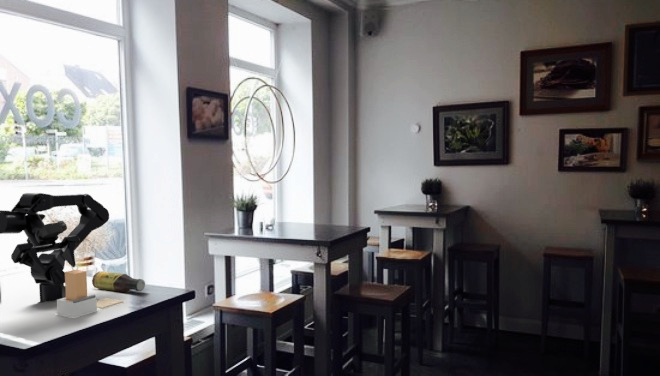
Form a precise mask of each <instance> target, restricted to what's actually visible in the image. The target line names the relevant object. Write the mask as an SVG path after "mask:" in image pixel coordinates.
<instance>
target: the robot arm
mask: <svg viewBox="0 0 660 376" xmlns="http://www.w3.org/2000/svg"><path fill="white" fill-rule="evenodd" d="M70 206H71V207H72V206H73V207H74V206H76V207H77V211H78V213H79V214H80V218H79V223H78V224H77V225H76V226H75V228H74V229H73V230H72V231H70V233H68V235H67V236H64V237H63V238H62V240H61V241H59V242H56V241H57V240H58V239H60V238H59V235H60V234H63V233H64V232H66V231H67V230H68V226H67V224H66V222H65V221H64V220H58V221H57V222H53V223H51V222H50V223H46V224H45V223H44V221H43V220H44V219H45V218H46V215H45V214H43V213H39V212H45V211H47V210H48V211H49V210H51V209H53V208H57V207H58V208H59V207H70ZM109 219H110V213H109V211H108V209H107V208H106V207H104V206H103V204H101V203H100V202H99V201H97V200H96V199H94V198H93V197H92V196H91V195H90V194H88V193H76V194H59V195H52V194H49V193H42V192H25V193H22V195H21V196H20V198H19V200H18V201H17V203H16V204H15V205H14V207H13V208H12V209H11V210H0V234H4V235H5V234H21V233H22V232H24V234H25V236H26V237H27V239H26V242H24V243H19V244H17V245H16V246H15V248H14V249H13V252H12V253H11V257H10V258H11V260H12V262H13V263H14V264H20V265H25V266H27V267H28V268H30V275H31V278H32V279H34V282H35V284H37V285H38V286H39V288H38V289H39V301H38V302H37V304H40V303H44V302H55V301H57V300H58V299H62V298H65V297H66V289H65V272H66V271H64V269H65V264H66V262H67V263H68V264H69V266H71V267H72V268H75V267H76V258H75V251H76V249H78V248H79V246H80V245H81V244H82V243H83V242H84V240H85V239H86V238H88V236H89V235H90V234H91V233H92V232H93V231H94V230H97V229H99V228H101V227H103V226H104V225H105V224H106V223H107V222H108V221H109ZM47 252H50V253H47ZM39 253H41V254H39ZM38 254H39V256H38Z"/></svg>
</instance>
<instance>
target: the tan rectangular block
mask: <svg viewBox="0 0 660 376" xmlns="http://www.w3.org/2000/svg"><path fill="white" fill-rule="evenodd" d="M64 272H65V283H64V286H65V289H66V300H70V301H73V300H76V299H80V298H84V297H87V296H88V278H87V271H86V270H81V269H72V270H68V271H64Z"/></svg>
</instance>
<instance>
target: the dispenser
mask: <svg viewBox="0 0 660 376" xmlns="http://www.w3.org/2000/svg"><path fill="white" fill-rule="evenodd" d="M96 296H97V295H96V294H92V295H87V297H84V298H80V299H76V300H73V301H70V300H66V297H65V298H62V299H58V300H56V309H57V310H56V312H55V313H53V315H55V316H60V317H64V318H68V319H76V318H79V317H84V316H86V315H89V314H93V313H95V312H99V311H102V310H105V309H108V308H113V307H115V306H117V305H118V306H119V305H121V304H124V303H126V301H124V300H120V299H115V298H108V297H105V298H101V299H98V300H97V297H96Z"/></svg>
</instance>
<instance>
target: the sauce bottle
mask: <svg viewBox="0 0 660 376" xmlns="http://www.w3.org/2000/svg"><path fill="white" fill-rule="evenodd" d="M91 283H92V286H93V288H95V289H99V290H105V291H111V292H121V293H126V292H129V291H136V292H142V291H143V290H144V289H145V287H146V282H145V280H144V279H141V278H134V277H131V276H130V275H128V274H126V273H121V272H112V271H111V272H110V271H96V272H95V274H94V275H93V276H92V278H91Z"/></svg>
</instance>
